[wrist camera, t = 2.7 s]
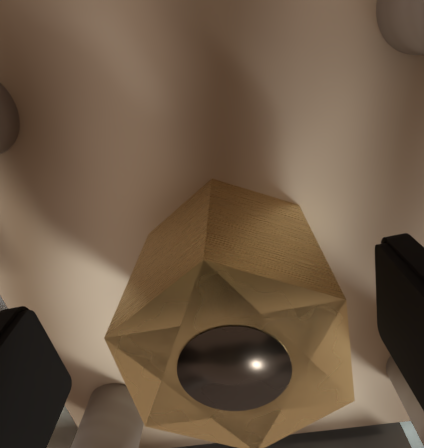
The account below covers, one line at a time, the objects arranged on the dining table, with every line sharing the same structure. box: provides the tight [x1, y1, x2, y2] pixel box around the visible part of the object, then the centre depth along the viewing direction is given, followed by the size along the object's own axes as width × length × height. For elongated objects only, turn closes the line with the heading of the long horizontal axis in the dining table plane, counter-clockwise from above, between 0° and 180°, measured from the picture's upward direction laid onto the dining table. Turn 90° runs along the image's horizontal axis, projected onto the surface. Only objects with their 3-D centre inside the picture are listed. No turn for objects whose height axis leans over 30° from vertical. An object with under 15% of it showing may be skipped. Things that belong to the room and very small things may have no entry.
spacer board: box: [0, 0, 424, 448], centre depth 10 cm, size 18×20×7 cm
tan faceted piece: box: [104, 178, 355, 448], centre depth 10 cm, size 5×6×5 cm
